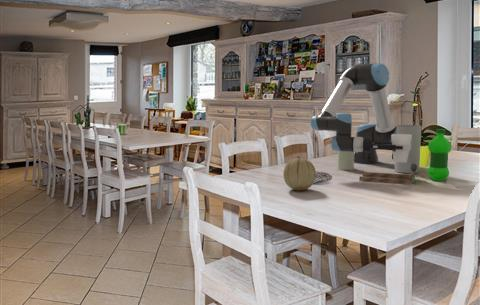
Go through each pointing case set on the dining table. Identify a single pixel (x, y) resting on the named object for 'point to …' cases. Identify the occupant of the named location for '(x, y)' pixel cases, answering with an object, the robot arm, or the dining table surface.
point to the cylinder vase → (414, 150)
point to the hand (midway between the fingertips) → (410, 146)
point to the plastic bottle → (439, 156)
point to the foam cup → (401, 140)
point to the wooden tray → (391, 176)
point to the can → (345, 160)
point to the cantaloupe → (299, 174)
